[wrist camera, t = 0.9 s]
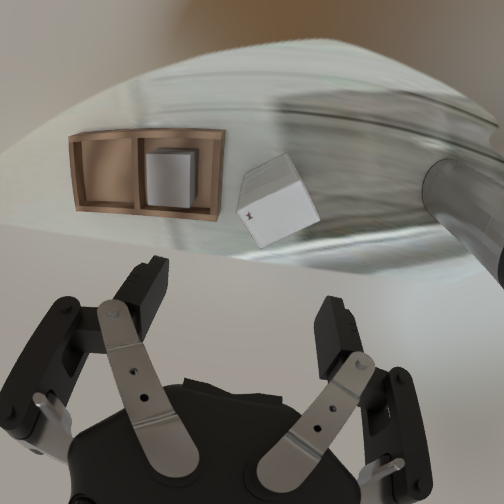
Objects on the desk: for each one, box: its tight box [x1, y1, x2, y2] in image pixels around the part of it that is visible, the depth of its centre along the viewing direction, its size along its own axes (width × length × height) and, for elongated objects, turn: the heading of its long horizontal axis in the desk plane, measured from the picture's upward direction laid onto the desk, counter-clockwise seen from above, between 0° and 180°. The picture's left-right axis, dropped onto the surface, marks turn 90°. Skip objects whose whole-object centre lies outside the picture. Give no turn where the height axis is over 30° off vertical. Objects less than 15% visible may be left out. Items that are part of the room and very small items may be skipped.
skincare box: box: [236, 153, 320, 248], centre depth 28 cm, size 6×4×12 cm
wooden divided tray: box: [68, 128, 225, 222], centre depth 30 cm, size 20×11×5 cm, turn 84°
